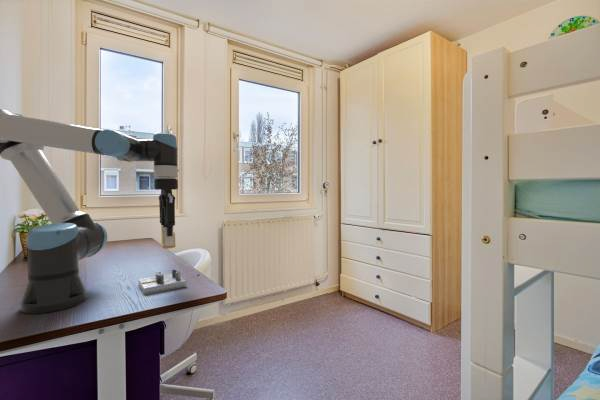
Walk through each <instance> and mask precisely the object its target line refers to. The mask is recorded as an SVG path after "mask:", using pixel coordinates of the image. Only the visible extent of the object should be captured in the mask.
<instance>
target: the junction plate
mask: <svg viewBox="0 0 600 400" xmlns="http://www.w3.org/2000/svg"><path fill="white" fill-rule="evenodd" d="M171 271H172V272H171V273H169V274H161V273H162V272H161V271H157V272H155V275H154V276H151V277H147V278H146V277H145V278H139V279H138V286H139V288H140V290H141V291H142V293H143V295H149V294H154V293H158V292H160V293H161V292H164V291H166V292H167V291H171V290H175V289H181V288H186V287H187V280H186V279H184V277H182V276H181V270H180V269H178V268H177V269H175V268H174V269H172V270H171Z"/></svg>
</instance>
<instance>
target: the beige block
mask: <svg viewBox="0 0 600 400" xmlns="http://www.w3.org/2000/svg"><path fill="white" fill-rule="evenodd" d="M163 229H164V228H163ZM173 238H174V245H171V246H165V230H164V233H163V234H162V233H161V244H162V249H165V250H167V249H174V248H176V233H175V232H174V231H173Z"/></svg>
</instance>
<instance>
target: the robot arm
mask: <svg viewBox="0 0 600 400" xmlns="http://www.w3.org/2000/svg"><path fill="white" fill-rule="evenodd" d="M152 135H153V136H152V139H139V138H138V139H137V138H134V137H132V136H129V135H127V134H125V133H123V132H121V131H119V130H115V129H100V128H94V127H88V126H83V125H76V124H71V123H65V122H57V121H54V120H53V121H52V120H46V119H39V118H36V117H35V118H34V117H28V116H24V115H23V114H18V113H13V112H9V111H8V110H6V109H2V108H0V158H1V159H4V160H6V161H9V162H10V163H12V166H13V167H14V168H15V170H16V171H17V173H18V174H19V176H20V177H21V179H22V180H23V182H24V184H25V185H26V186H27V188H28V190H29V191H30V192H31V195H32V196H33V198H34V199H35V201H36V202H37V203H38V205H39V206H40V207H41V209H42V211H43V213H44V214H45V215H46V217H47V218H48V220H49V221H50V224H45V225H44V224H43V225H39V226H36V227H34V228H31V229H30V230H29V231H28V232H27V234H26V242H25V246H26V256H27V257H26V260H27V261H26V262H27V284H26V287H25V290H24V293H23V296H22V298H21V301H20V312H21V313H23V314H30V315H31V314H34V315H35V314H36V315H37V314H45V313H53V312H58V311H61V310H64V309H65V310H66V309H69V308H72V307H74V306H77V305H80V304H82V303H83V302H84V301H86V300H87V297H88V295H87V289H86V287H85V284H84V282H83V280H82V278H81V276H80V275H81V274H80V268H79V267H80V263H79V262H80V261H81V260H84V259H86V258H90V257H93V256H94V255H96V254H98V253H99V252H101V251H102V250H103V249H104V248H105V246H106V245H107V242H108V232H107V230H106V228H105V227H104V226H103V225H102V224H100V223H98V222H95V221H93V219H92V217H91V216H90V215H89V213H88V212H83V211H81V210H80V208H79V207H78V205H77V204H76V202H75V200H74V199H73V197H72V196H71V195H70V192H68V190H67V188H66V186H65V185H64V184H63V182H62V180H61V179H60V178H59V175H58V174H57V172H55V170H54V168H53V166H52V165H51V163H50V162H49V160H48V159H47V158H46V156H45V154H44V152H43V150H44V149H45V147H49V148H56V149H63V150H68V151H75V152H83V153H88V154H95V155H99V156H100V155H101V156H107V157H112V158H116V160H117V161H120V162H128V163H129V162H153V177H154V178H155V179H154V180H153V181H154V182H153V183H154V187H153V188H154V190H160V191H161V192H160V194H159V196H158V201H159V202H158V203H159V204H158V205H159V223H160V225H161V226H160V227H161V235H162V234H163V233H164V230H165V246H171V245H174V238H173V232H174V226H176V220H175V219H176V215H175V214H176V211H175V210H176V208H175V207H176V205H175V204H176V203H175V202H176V197H175V196H174V194H173V190H178V188H179V182H178V181H179V180H178V179H177V178H178V173H179V172H180V169H178V144H177V137H176V136H175V135H174V134H173V133H167V132H156V133H154V134H152ZM163 228H164V229H163Z"/></svg>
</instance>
